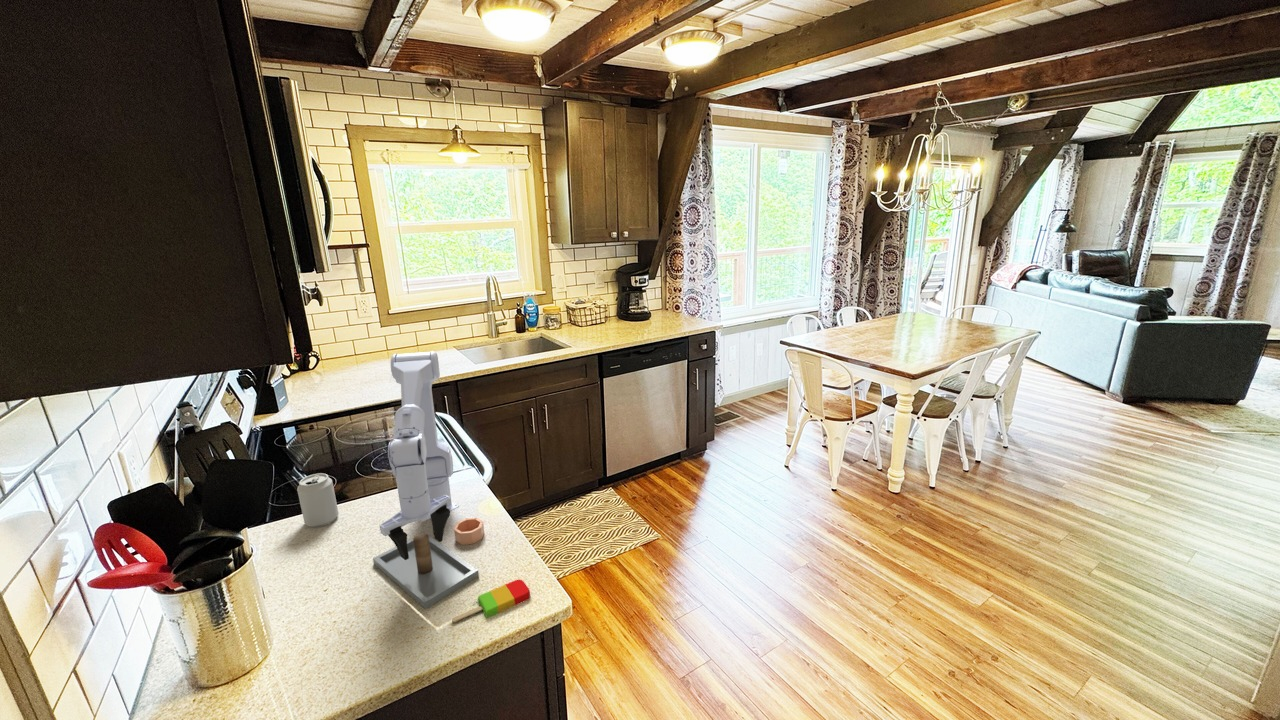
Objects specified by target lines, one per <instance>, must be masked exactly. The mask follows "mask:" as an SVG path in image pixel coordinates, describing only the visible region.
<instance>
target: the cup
mask: <svg viewBox="0 0 1280 720" xmlns="http://www.w3.org/2000/svg"><path fill="white" fill-rule="evenodd" d="M484 526H485V525H484V520H481V519H480V518H478V517H470V518H464V519H462V520H460V521H458V522H456V523H455V526H454V529H453V532H454V533H453V534H454V541H455V542H456V543H458V544H460V546H463V545H473V544H475V543H477V542H479V541H480V540H482V539H483V538H484V534H485V527H484Z"/></svg>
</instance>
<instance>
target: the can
mask: <svg viewBox="0 0 1280 720" xmlns="http://www.w3.org/2000/svg"><path fill="white" fill-rule="evenodd" d="M298 484H299V485H298V486H297V490H296V491H297V495H298V500H299V505H300V508H301V514H302V517H303V518H302V519H303V523H304V524H305V525H306V526H308V527H311V528H320V527H324V526H328V525H329V524H331V523H332V522H334V521H335V520H336V519H337V517H338V516H339V508H338V504H337V499H336V494H335V488H334V483H333V479H332V478H330V477H329V475H328V474H326V473H322V472H320V473H319V472H318V473H313V474H310V475H307V476H305V477H303V478H302V479H301V480H299V482H298Z"/></svg>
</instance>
